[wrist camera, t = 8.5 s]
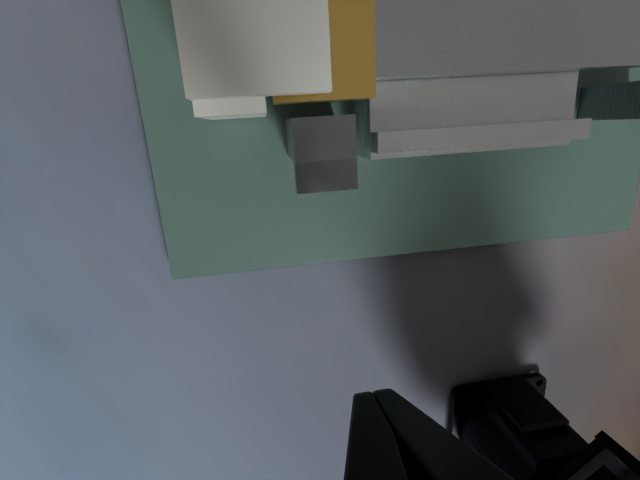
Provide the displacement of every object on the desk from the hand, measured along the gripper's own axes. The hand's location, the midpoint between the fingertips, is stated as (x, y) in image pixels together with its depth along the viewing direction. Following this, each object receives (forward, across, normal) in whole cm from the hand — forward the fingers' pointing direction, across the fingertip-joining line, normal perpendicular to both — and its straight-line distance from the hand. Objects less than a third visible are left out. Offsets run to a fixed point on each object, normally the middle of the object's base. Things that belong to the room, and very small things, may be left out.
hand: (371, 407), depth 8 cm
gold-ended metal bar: (+9, -8, -9) cm, 15 cm away
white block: (+12, +2, -9) cm, 15 cm away
